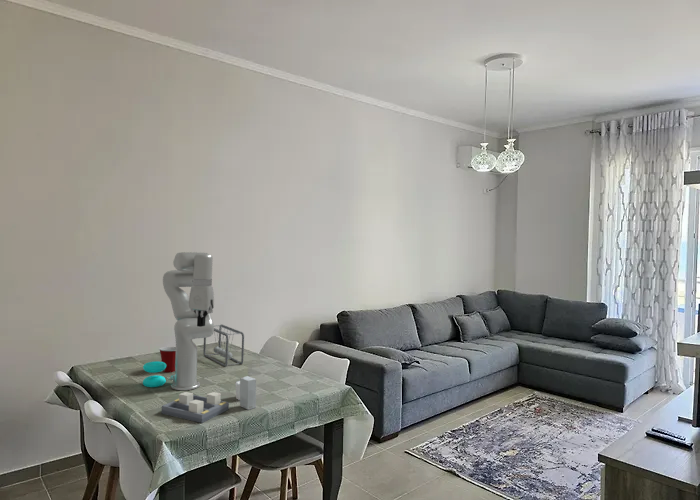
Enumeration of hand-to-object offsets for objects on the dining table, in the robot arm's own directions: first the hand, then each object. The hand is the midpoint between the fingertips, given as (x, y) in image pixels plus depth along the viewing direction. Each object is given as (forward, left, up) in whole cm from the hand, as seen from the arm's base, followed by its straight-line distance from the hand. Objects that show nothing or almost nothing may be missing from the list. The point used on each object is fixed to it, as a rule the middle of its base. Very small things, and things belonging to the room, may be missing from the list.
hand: (201, 325), depth 200 cm
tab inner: (+12, -5, -30) cm, 33 cm away
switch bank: (+7, -10, -32) cm, 34 cm away
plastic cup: (-42, +27, -32) cm, 59 cm away
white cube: (+12, -15, -30) cm, 36 cm away
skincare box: (+22, +4, -32) cm, 39 cm away
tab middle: (+2, -10, -30) cm, 32 cm away
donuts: (-32, +7, -32) cm, 46 cm away
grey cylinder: (+14, +12, -32) cm, 37 cm away
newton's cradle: (-33, +58, -32) cm, 74 cm away
